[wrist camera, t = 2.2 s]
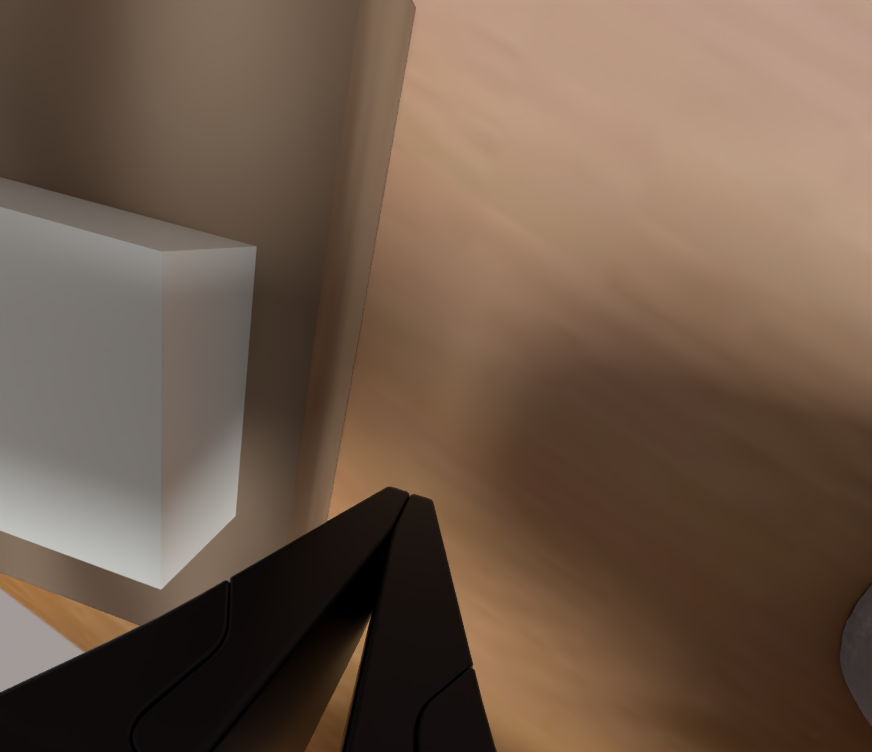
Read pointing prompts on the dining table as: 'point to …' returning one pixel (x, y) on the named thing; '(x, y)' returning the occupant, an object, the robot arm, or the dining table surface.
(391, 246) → the dining table surface
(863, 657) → the pillar candle
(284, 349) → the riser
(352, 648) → the robot arm
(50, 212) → the coaster
